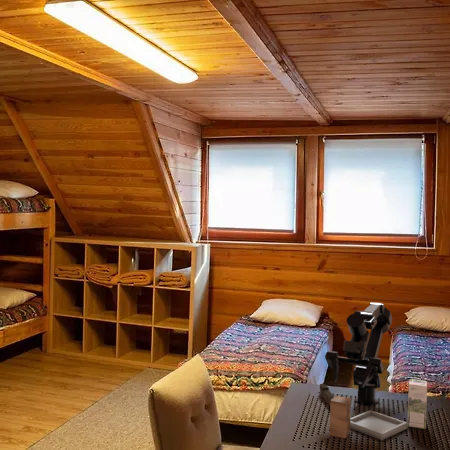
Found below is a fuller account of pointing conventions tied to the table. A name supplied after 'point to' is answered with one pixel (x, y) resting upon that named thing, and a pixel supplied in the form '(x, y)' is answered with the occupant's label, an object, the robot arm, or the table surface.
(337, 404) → the walnut block
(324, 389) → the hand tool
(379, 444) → the table surface
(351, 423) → the tray
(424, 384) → the syrup box
